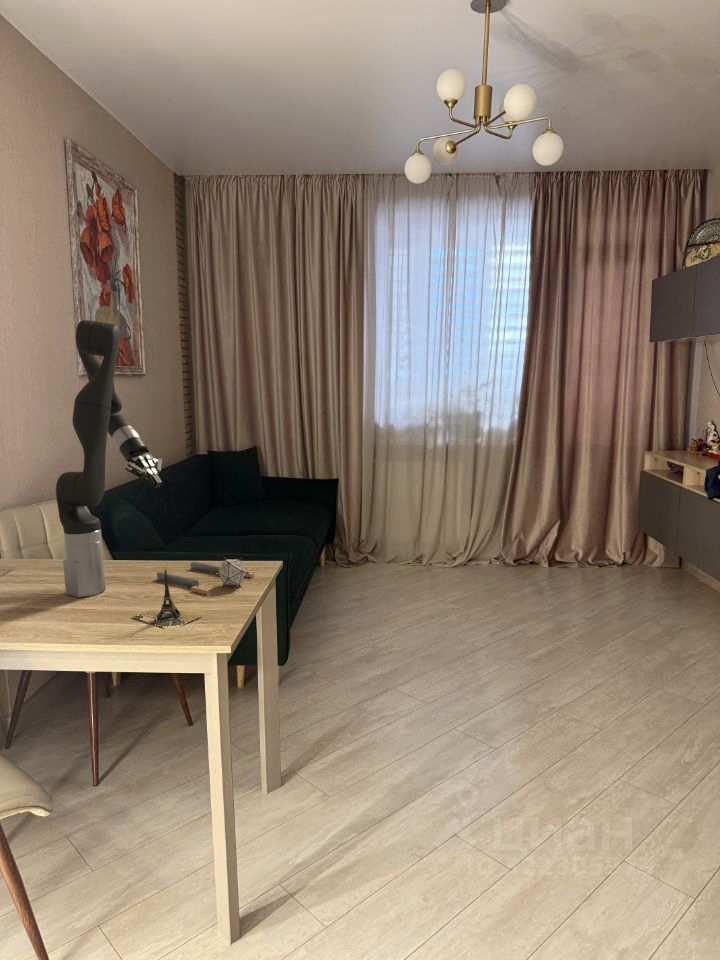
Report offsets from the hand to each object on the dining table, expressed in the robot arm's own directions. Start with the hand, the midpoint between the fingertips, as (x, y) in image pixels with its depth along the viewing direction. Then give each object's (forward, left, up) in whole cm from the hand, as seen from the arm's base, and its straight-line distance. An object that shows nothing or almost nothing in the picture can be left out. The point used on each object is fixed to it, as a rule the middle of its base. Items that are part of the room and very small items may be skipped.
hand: (158, 485), depth 190 cm
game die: (-2, -31, -26) cm, 41 cm away
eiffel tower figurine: (-28, -35, -27) cm, 52 cm away
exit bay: (-2, -28, -26) cm, 38 cm away
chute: (-2, -16, -26) cm, 30 cm away
